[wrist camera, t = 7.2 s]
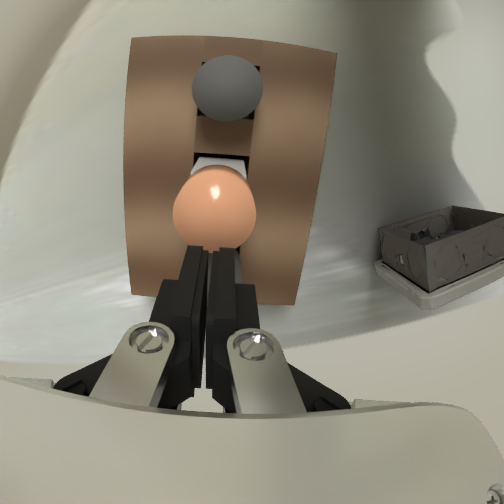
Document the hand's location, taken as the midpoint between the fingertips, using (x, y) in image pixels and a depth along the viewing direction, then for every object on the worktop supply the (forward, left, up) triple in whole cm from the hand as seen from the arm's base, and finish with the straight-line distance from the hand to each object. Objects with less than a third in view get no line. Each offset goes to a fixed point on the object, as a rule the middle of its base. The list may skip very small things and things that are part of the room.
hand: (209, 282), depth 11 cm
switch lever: (-7, 0, -11) cm, 13 cm away
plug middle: (-2, 0, -7) cm, 8 cm away
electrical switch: (+1, +16, -11) cm, 20 cm away
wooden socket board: (-2, 0, -11) cm, 11 cm away
